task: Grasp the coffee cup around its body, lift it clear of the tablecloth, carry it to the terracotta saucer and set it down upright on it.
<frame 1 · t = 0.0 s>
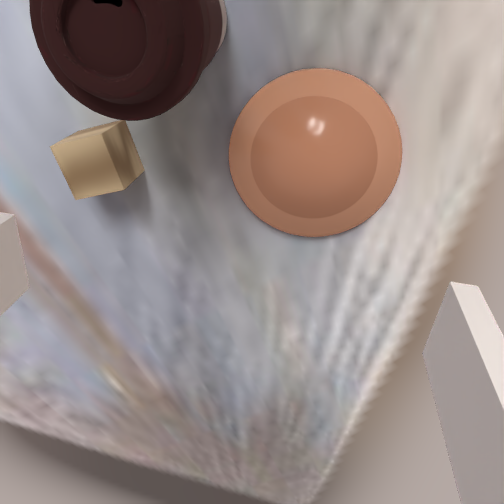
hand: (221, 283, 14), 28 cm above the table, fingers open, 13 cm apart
coffee cup: (184, 17, 36), on the table
saucer: (313, 157, 40), on the table
tan cube: (112, 150, 42), on the table
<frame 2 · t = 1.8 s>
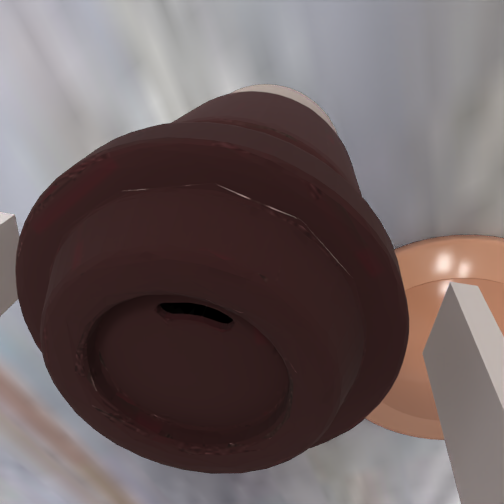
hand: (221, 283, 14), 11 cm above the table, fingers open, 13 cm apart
coffee cup: (268, 156, 23), on the table
saucer: (447, 344, 27), on the table
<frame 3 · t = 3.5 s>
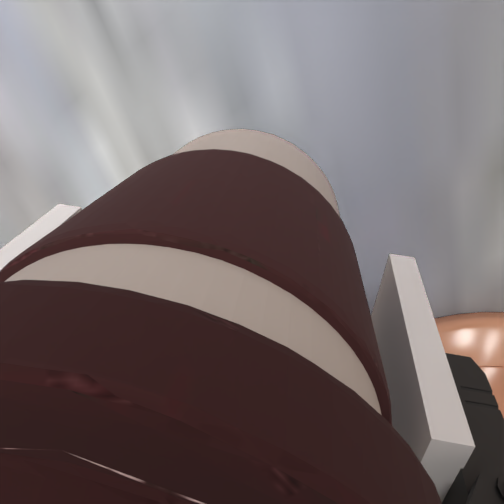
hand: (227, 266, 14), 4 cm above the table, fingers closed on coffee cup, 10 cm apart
coffee cup: (246, 214, 18), on the table, touching gripper
saucer: (470, 434, 22), on the table
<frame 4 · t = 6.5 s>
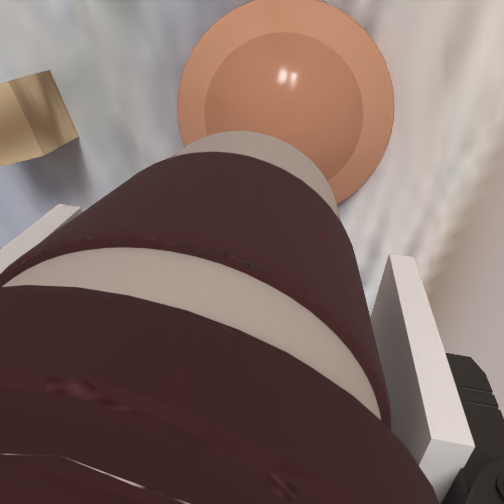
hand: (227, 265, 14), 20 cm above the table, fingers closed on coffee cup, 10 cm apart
coffee cup: (246, 216, 18), point 16 cm above the table, touching gripper
saucer: (283, 116, 32), on the table
tan cube: (37, 111, 34), on the table
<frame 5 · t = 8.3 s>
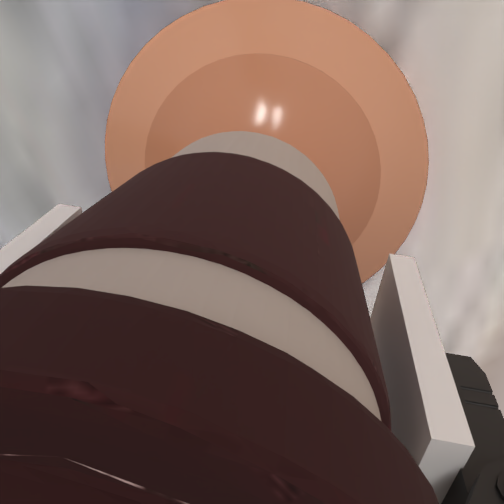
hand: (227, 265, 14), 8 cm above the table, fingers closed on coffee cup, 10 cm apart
coffee cup: (246, 216, 18), point 5 cm above the table, touching gripper
saucer: (261, 173, 22), on the table
when the fingers open (6 cm above the table, at t = 9.8 s): coffee cup drops 1 cm, resting on saucer.
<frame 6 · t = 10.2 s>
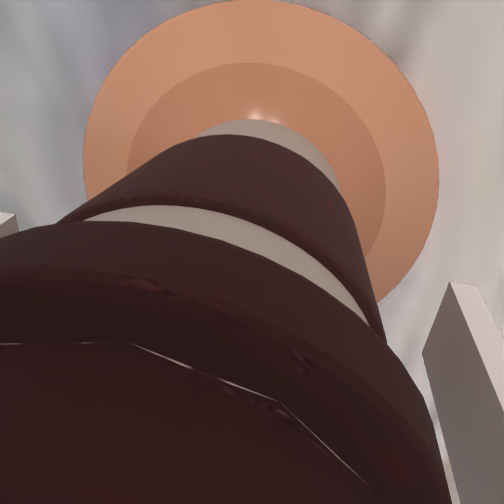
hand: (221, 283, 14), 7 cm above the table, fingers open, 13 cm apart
coffee cup: (254, 201, 19), point 1 cm above the table, touching saucer
saucer: (255, 193, 20), on the table
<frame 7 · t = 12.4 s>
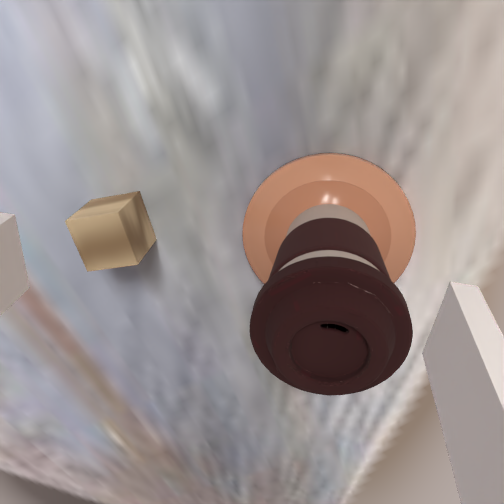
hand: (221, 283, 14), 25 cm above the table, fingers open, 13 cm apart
coffee cup: (327, 239, 39), point 1 cm above the table, touching saucer
saucer: (326, 234, 40), on the table
tan cube: (124, 219, 42), on the table
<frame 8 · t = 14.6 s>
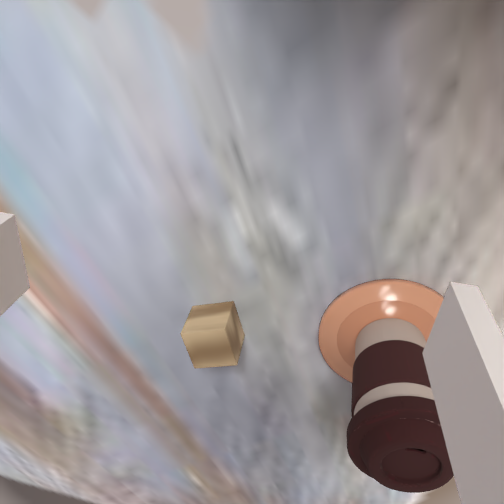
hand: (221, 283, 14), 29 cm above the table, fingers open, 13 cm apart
coffee cup: (389, 340, 48), point 1 cm above the table, touching saucer
saucer: (387, 335, 49), on the table
tan cube: (219, 320, 52), on the table
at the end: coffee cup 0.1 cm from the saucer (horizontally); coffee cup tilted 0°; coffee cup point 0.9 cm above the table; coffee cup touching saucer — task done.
